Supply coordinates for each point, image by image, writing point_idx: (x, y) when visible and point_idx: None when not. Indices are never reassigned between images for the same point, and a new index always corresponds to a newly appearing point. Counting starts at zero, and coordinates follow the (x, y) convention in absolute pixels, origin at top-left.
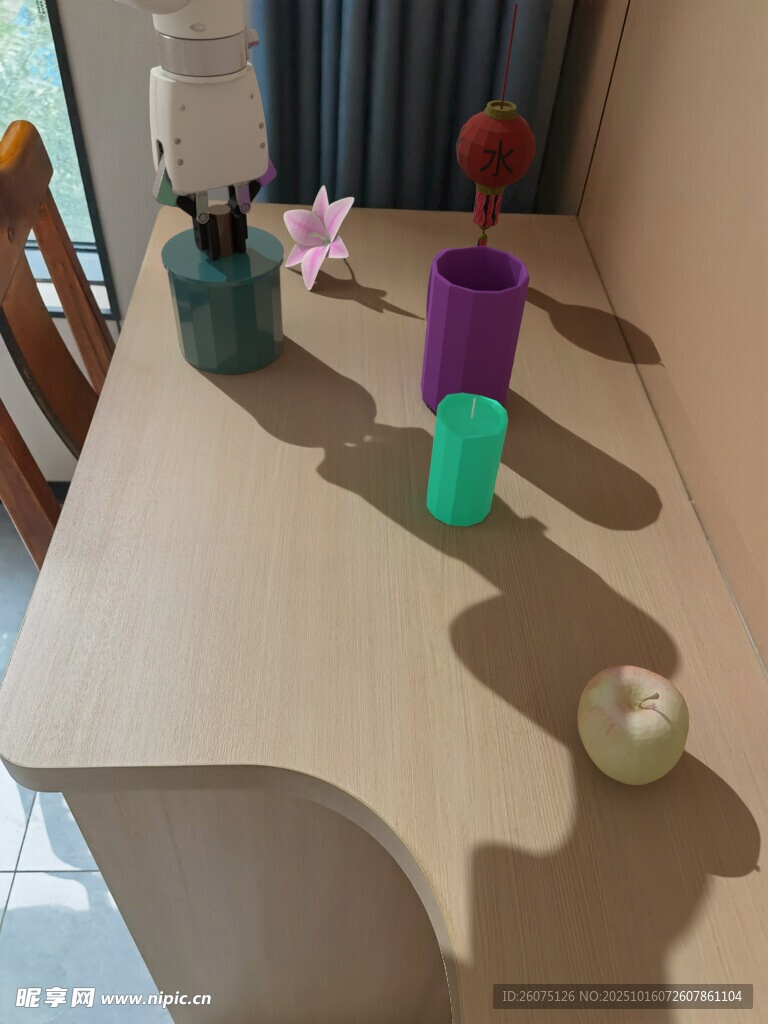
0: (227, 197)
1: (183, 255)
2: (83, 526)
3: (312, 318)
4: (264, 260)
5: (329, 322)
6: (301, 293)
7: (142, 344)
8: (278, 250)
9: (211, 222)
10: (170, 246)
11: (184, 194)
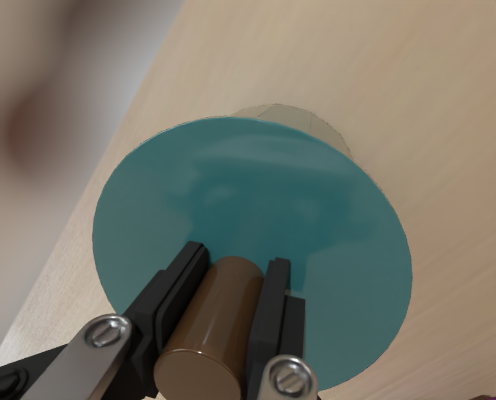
0: (263, 374)
1: (142, 240)
2: (34, 315)
3: (431, 207)
4: None
5: (443, 234)
6: (493, 126)
7: (161, 100)
8: (354, 361)
9: (150, 392)
10: (130, 181)
11: (41, 375)
